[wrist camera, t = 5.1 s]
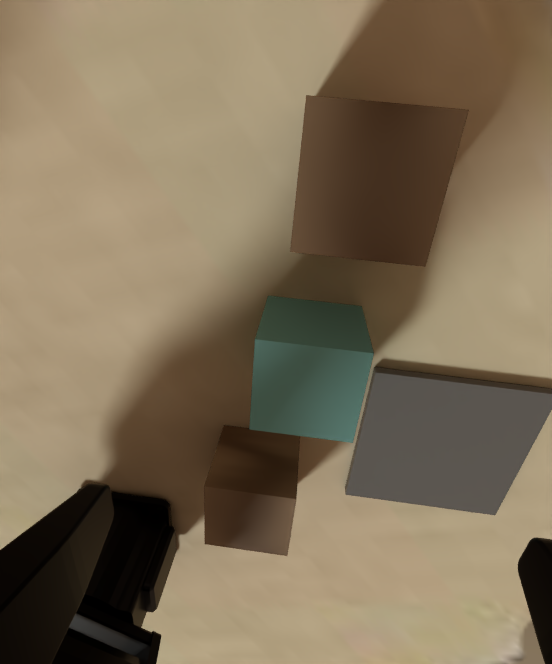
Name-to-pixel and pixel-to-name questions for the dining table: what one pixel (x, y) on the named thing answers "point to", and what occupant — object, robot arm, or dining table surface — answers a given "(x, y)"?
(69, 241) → the dining table surface
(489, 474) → the slate tile
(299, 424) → the teal cube
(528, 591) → the robot arm
